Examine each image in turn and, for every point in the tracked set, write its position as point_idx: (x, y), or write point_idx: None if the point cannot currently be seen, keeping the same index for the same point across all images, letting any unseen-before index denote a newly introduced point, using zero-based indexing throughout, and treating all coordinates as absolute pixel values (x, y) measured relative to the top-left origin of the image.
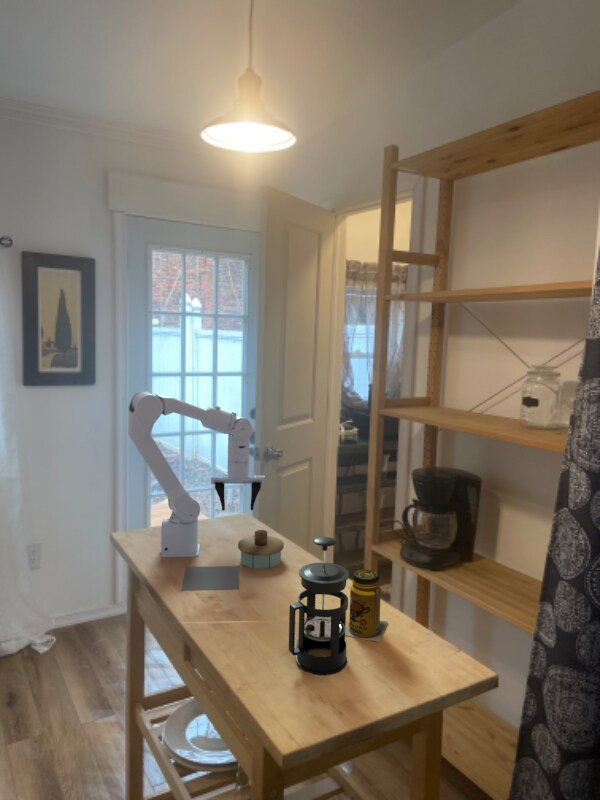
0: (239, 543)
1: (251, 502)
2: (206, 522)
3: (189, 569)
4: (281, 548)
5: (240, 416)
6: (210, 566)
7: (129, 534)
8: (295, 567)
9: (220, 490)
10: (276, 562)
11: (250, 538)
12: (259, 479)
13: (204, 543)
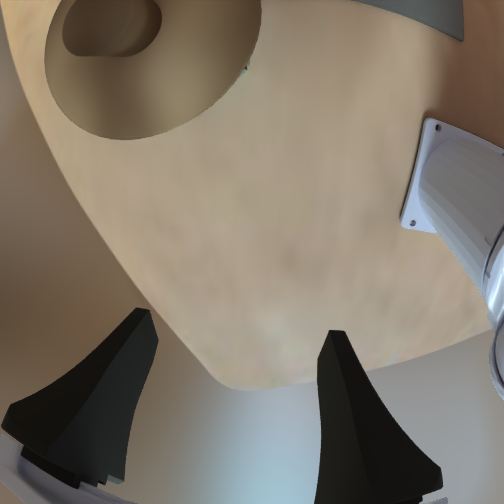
0: (250, 19)
1: (119, 347)
2: None
3: (452, 16)
4: (59, 9)
5: None
6: (384, 7)
7: None
8: None
9: (401, 472)
10: None
11: (180, 93)
12: (15, 480)
13: (376, 244)
